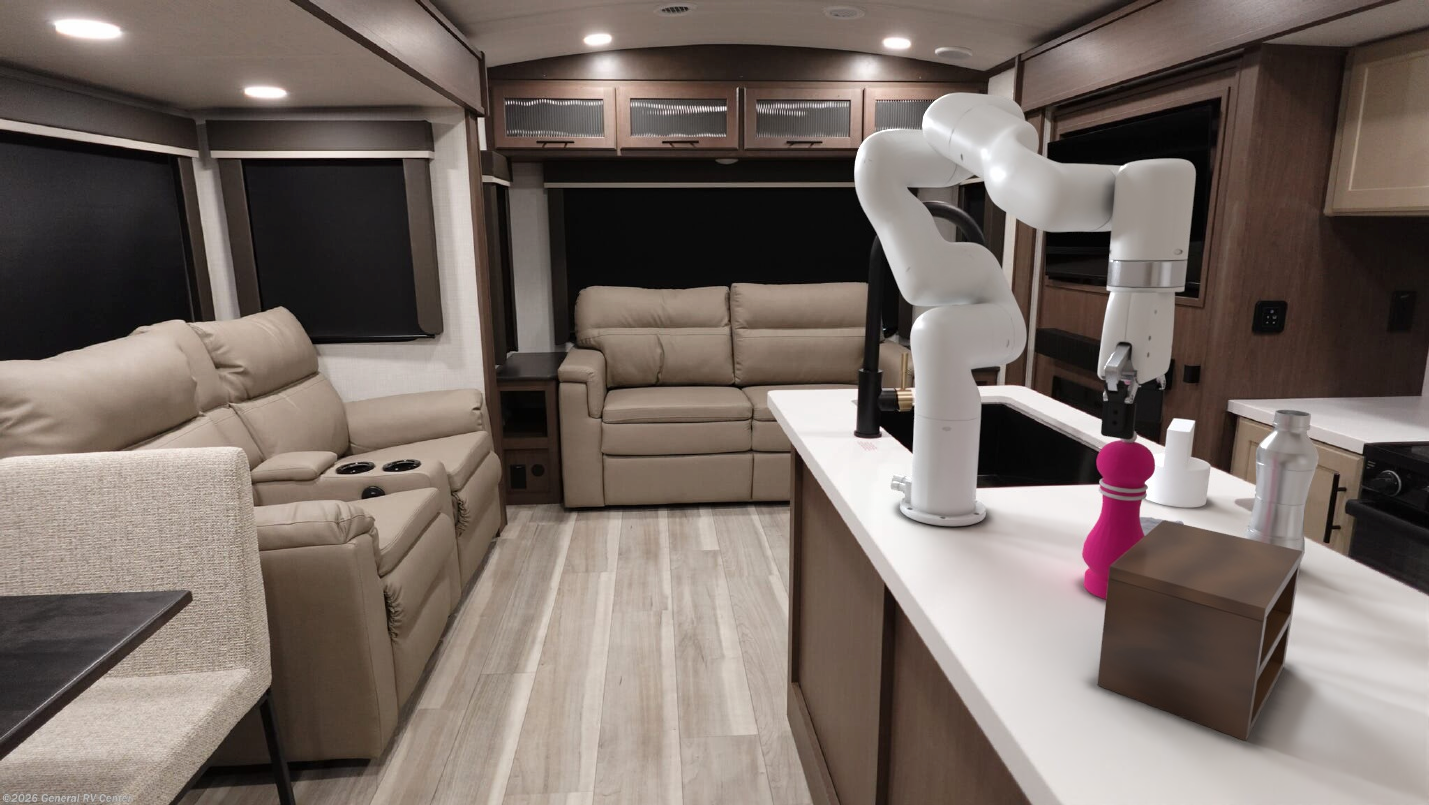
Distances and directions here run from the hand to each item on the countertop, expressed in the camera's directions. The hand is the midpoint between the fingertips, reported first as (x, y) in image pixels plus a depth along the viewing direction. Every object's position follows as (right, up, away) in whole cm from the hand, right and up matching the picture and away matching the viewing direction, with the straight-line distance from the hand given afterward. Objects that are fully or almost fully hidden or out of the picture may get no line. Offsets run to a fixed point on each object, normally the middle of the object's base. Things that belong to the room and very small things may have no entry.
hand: (1131, 429), depth 89 cm
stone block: (+10, -17, +14) cm, 25 cm away
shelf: (-1, -23, -13) cm, 27 cm away
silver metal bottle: (+23, -18, +11) cm, 31 cm away
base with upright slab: (+26, -12, +36) cm, 46 cm away
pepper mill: (0, -20, +5) cm, 20 cm away
